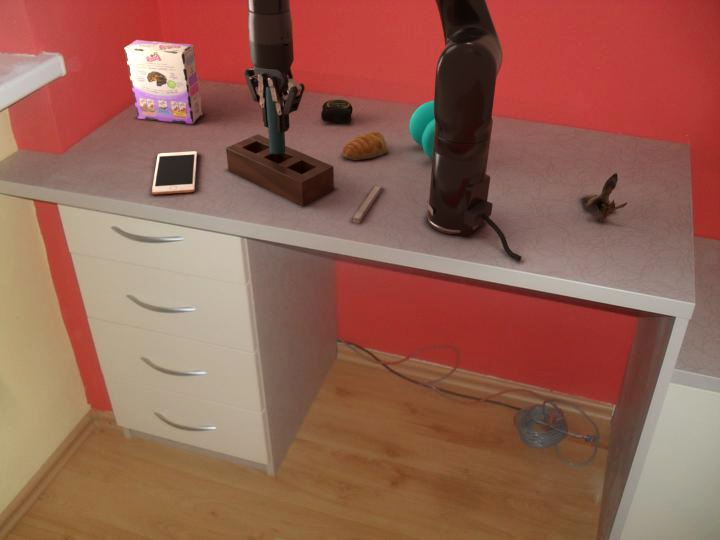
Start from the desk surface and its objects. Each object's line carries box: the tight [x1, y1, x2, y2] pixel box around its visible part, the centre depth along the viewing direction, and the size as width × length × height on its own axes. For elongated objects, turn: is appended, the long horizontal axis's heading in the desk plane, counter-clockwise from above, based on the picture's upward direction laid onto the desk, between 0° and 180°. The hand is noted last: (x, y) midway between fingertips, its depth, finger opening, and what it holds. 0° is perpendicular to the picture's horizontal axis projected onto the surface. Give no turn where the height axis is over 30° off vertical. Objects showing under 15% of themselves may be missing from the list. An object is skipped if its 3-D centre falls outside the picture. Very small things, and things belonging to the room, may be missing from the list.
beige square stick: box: [352, 185, 382, 224], centre depth 129 cm, size 12×1×1 cm, turn 160°
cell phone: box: [151, 150, 198, 195], centre depth 138 cm, size 8×16×1 cm, turn 9°
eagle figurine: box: [580, 172, 628, 222], centre depth 127 cm, size 8×7×9 cm
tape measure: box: [320, 98, 353, 124], centre depth 159 cm, size 7×7×4 cm
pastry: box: [342, 130, 389, 161], centre depth 146 cm, size 9×7×4 cm
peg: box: [265, 86, 286, 154], centre depth 130 cm, size 3×3×13 cm
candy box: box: [123, 39, 203, 125], centre depth 156 cm, size 14×6×16 cm, turn 77°
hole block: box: [225, 133, 335, 207], centre depth 136 cm, size 8×21×5 cm, turn 49°
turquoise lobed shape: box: [408, 100, 435, 160], centre depth 144 cm, size 10×10×10 cm
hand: (276, 128), depth 131 cm, fingers closed on peg, 3 cm apart
